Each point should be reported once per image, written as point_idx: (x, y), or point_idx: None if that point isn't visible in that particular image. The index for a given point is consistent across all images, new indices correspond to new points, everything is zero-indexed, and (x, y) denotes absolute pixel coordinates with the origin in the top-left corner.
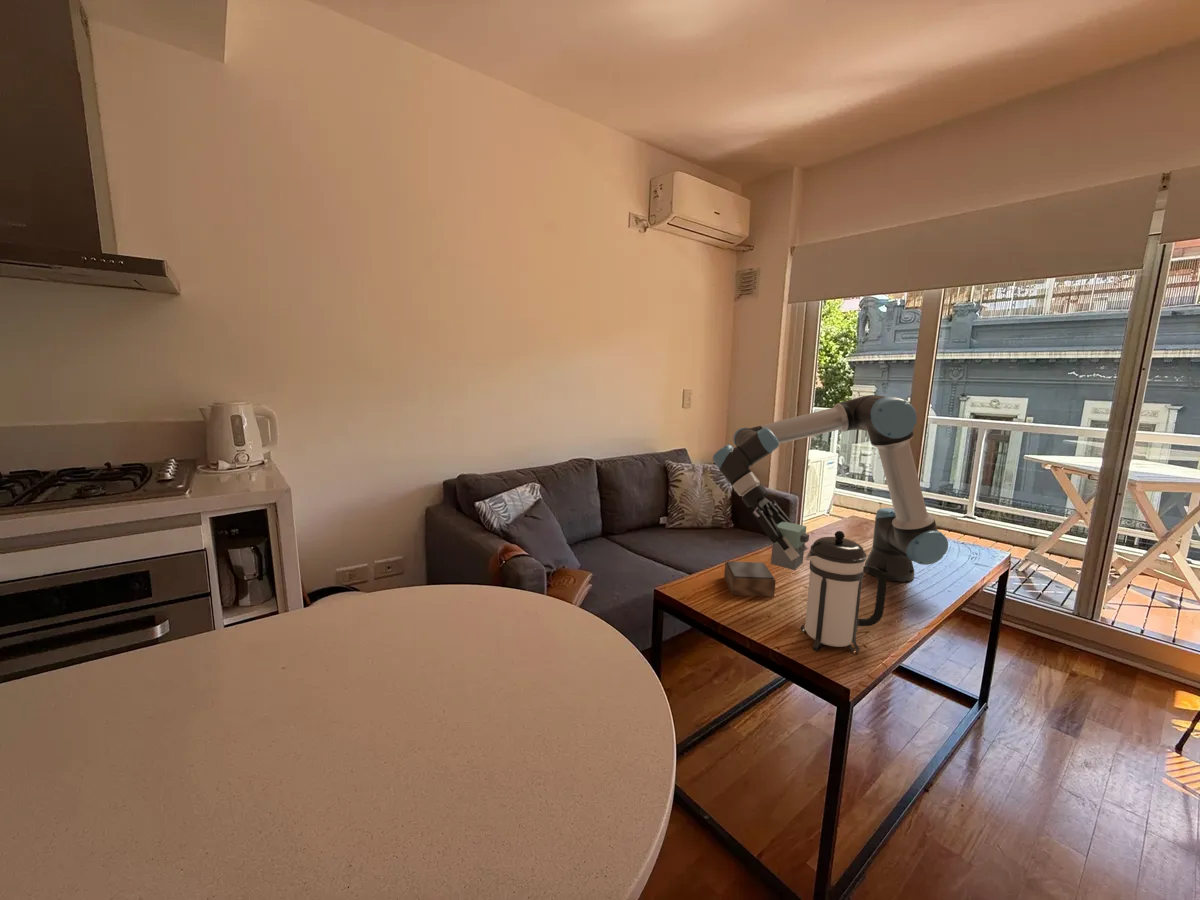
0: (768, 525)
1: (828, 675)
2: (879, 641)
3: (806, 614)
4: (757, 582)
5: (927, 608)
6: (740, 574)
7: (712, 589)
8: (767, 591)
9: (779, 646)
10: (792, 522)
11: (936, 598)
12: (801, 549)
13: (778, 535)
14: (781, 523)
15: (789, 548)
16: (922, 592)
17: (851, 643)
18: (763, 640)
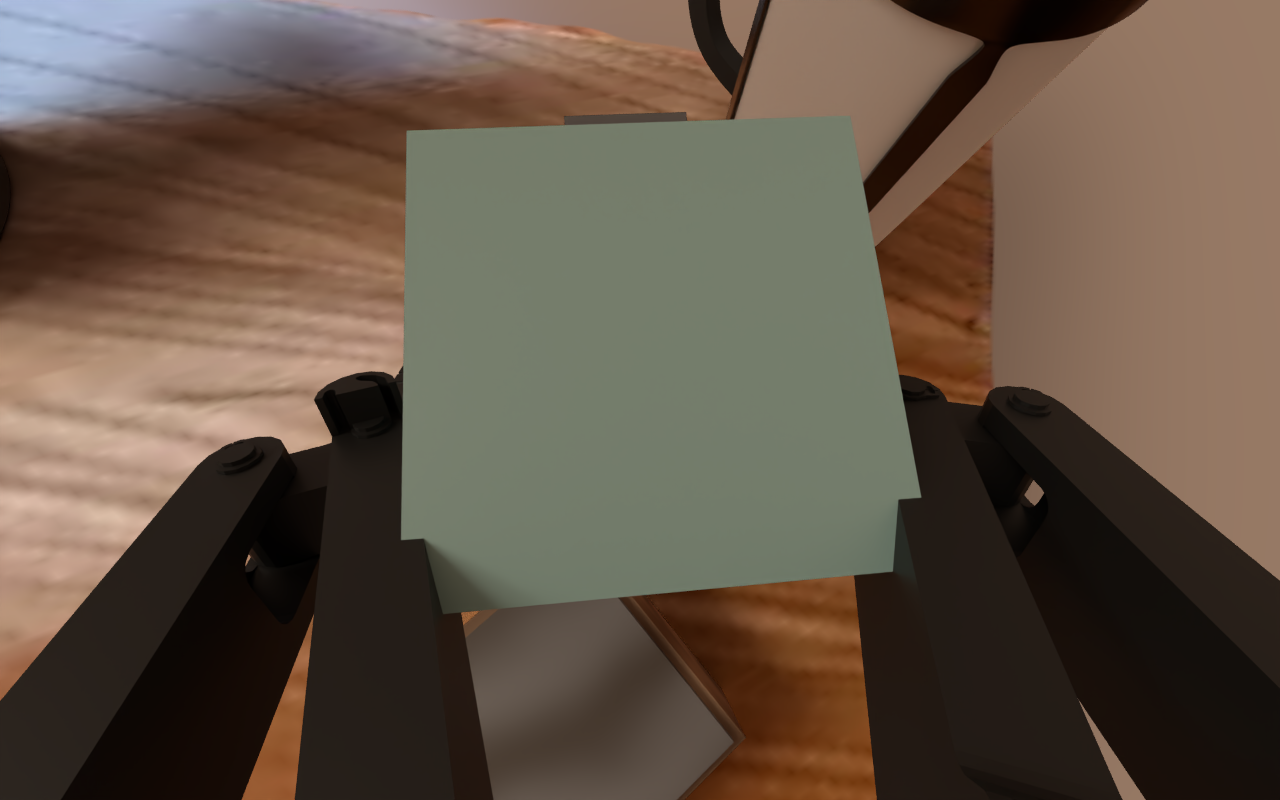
0: (1275, 604)
1: (981, 155)
2: (655, 98)
3: (884, 234)
4: (644, 607)
5: (244, 29)
6: (680, 726)
7: None
8: None
9: (957, 323)
10: (189, 490)
11: (108, 19)
12: None
13: (1020, 394)
14: (600, 555)
15: None
16: (72, 65)
17: None
18: (968, 381)
